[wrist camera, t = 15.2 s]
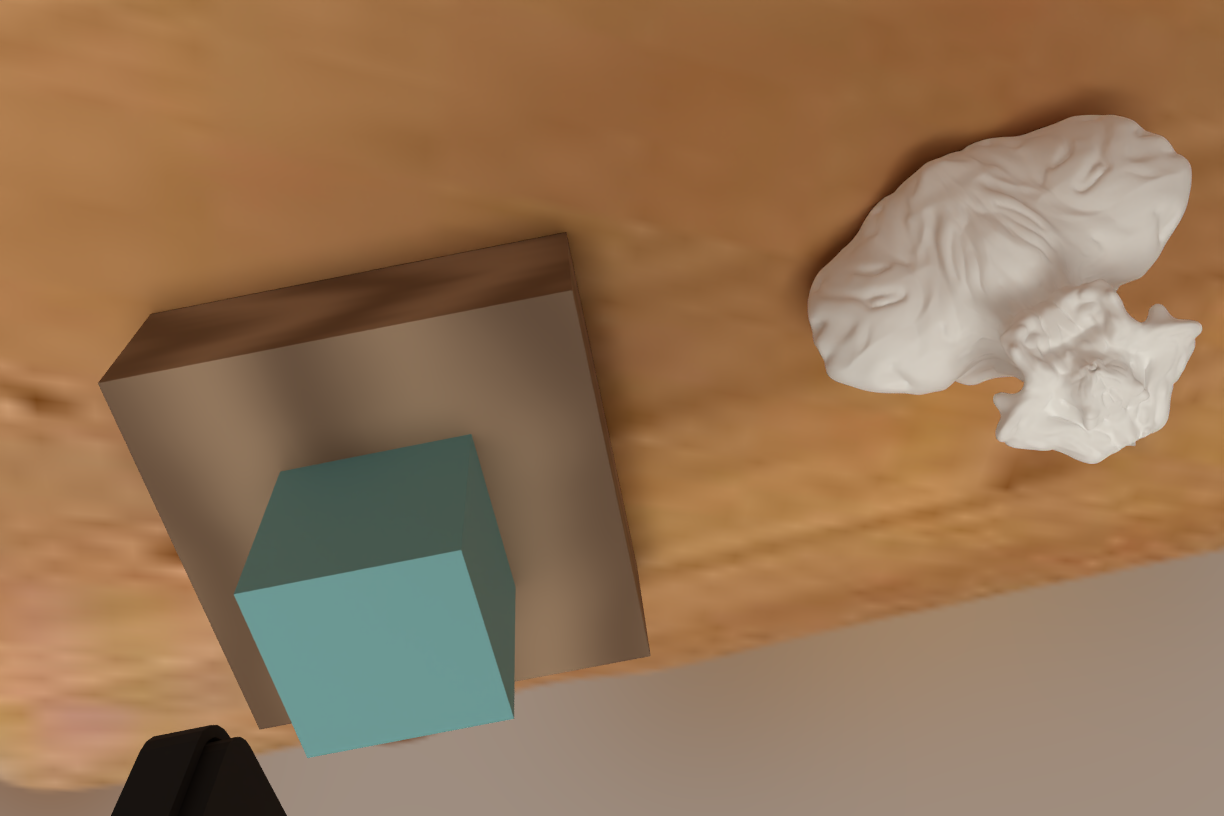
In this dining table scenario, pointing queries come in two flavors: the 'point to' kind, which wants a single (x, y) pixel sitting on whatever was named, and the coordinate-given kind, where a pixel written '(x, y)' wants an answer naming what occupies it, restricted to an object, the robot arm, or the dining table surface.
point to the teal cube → (383, 597)
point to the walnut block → (393, 432)
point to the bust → (1020, 284)
